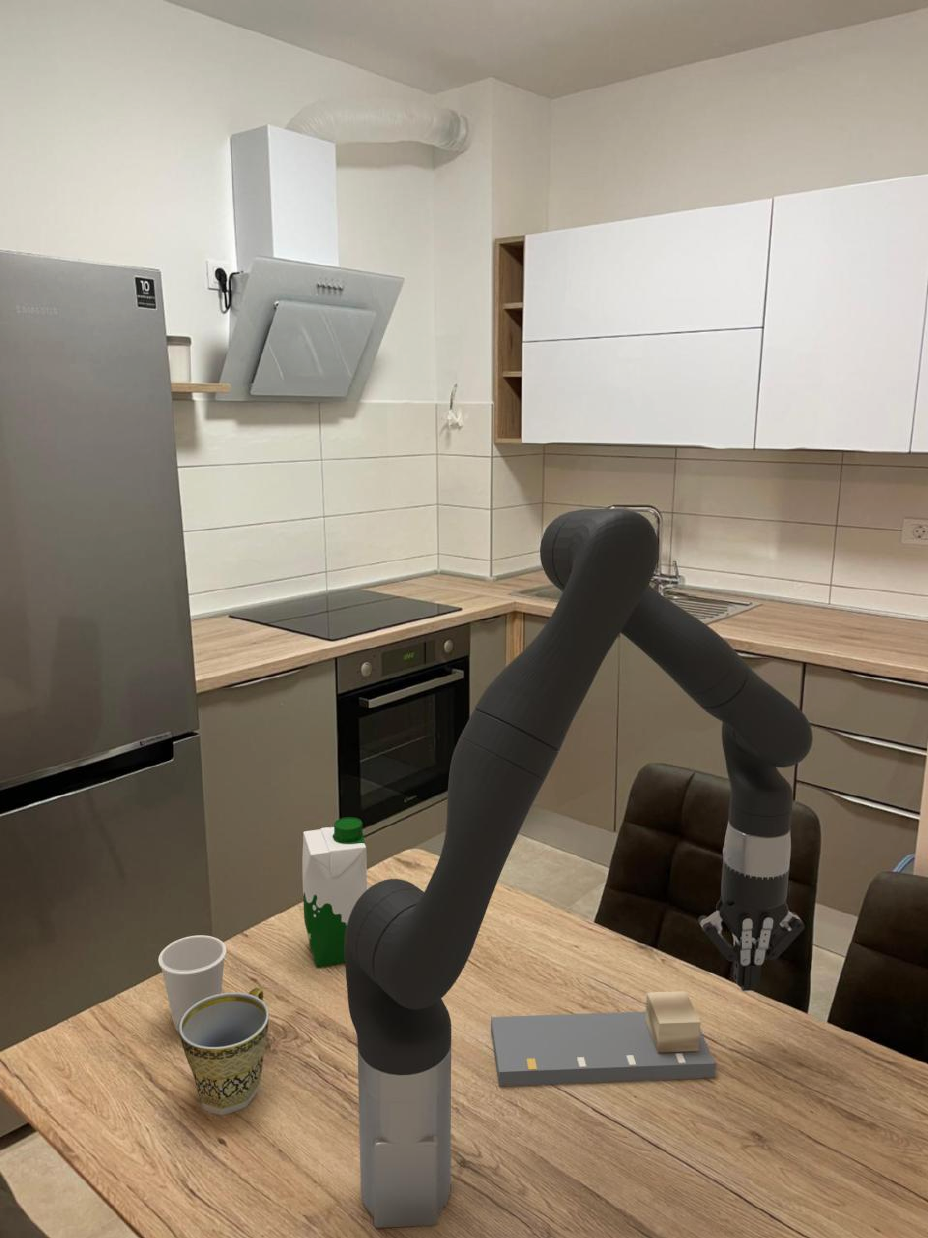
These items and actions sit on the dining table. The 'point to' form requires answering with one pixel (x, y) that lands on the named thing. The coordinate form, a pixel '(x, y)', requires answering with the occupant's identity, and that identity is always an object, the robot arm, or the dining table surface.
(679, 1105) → the dining table surface
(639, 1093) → the dining table surface
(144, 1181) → the dining table surface
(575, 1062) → the board
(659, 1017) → the knob
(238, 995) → the ceramic cup
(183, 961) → the dixie cup
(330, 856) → the soya milk
